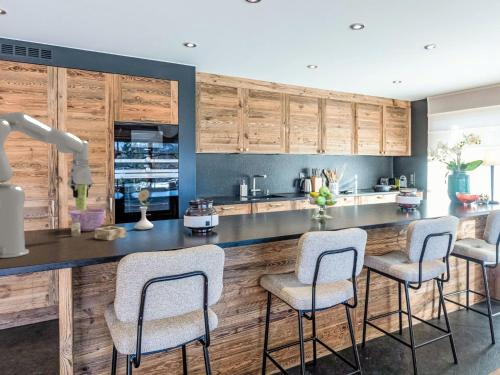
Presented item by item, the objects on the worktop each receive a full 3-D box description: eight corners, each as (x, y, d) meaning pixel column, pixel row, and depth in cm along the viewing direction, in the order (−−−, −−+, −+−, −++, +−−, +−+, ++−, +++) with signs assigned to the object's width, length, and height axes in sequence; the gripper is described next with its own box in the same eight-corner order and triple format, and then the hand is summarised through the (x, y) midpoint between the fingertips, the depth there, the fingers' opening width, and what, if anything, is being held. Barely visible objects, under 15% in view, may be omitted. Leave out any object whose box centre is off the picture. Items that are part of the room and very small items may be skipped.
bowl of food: (69, 234, 205) (68, 214, 204) (71, 228, 223) (70, 210, 223) (106, 231, 213) (106, 212, 213) (105, 226, 232) (105, 208, 231)
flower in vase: (131, 228, 222) (130, 189, 220) (148, 226, 229) (147, 188, 228) (140, 231, 212) (139, 190, 210) (157, 229, 220) (157, 189, 218)
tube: (78, 210, 187) (78, 173, 187) (72, 210, 190) (72, 173, 189) (88, 209, 192) (88, 173, 192) (82, 209, 195) (82, 173, 194)
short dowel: (74, 236, 197) (74, 224, 197) (69, 236, 200) (69, 223, 199) (82, 235, 201) (81, 223, 201) (77, 234, 203) (76, 222, 203)
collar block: (109, 240, 188) (109, 231, 188) (94, 238, 194) (94, 229, 194) (126, 236, 198) (125, 227, 197) (111, 234, 204) (111, 225, 204)
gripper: (69, 162, 181) (69, 198, 182) (98, 164, 196) (99, 196, 196) (61, 162, 185) (61, 197, 186) (90, 164, 200) (90, 196, 200)
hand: (80, 196), depth 191 cm, fingers closed on tube, 5 cm apart
